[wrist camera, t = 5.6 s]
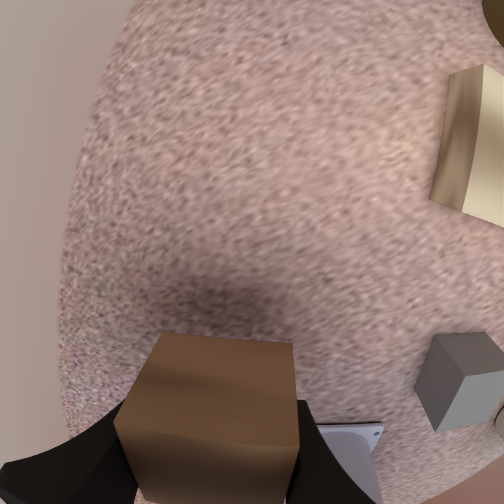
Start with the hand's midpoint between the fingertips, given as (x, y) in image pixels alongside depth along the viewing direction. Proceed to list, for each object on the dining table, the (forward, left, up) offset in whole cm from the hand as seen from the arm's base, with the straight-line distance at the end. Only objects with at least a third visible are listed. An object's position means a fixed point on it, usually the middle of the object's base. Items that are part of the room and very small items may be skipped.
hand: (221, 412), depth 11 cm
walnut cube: (0, 0, -2) cm, 2 cm away
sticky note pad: (+11, -15, -9) cm, 21 cm away
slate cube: (-4, -16, -9) cm, 19 cm away
